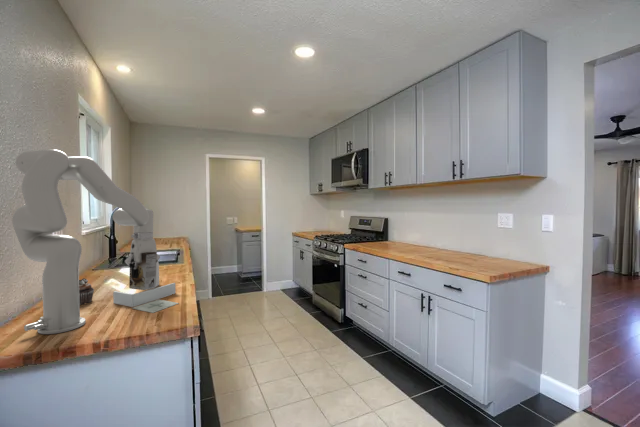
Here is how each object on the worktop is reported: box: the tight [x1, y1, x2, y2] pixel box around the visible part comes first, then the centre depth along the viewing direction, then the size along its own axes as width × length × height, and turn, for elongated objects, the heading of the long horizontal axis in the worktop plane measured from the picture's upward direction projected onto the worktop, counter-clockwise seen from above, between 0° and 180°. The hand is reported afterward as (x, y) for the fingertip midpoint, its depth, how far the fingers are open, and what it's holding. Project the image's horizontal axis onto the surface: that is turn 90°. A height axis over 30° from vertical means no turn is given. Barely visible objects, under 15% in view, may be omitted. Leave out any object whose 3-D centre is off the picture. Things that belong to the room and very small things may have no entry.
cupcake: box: [79, 277, 95, 306], centre depth 131 cm, size 10×10×10 cm
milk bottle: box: [156, 260, 160, 287], centre depth 156 cm, size 8×8×20 cm
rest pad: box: [131, 298, 180, 314], centre depth 126 cm, size 12×12×1 cm
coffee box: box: [128, 251, 158, 291], centre depth 136 cm, size 9×6×16 cm
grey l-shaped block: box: [112, 282, 176, 308], centre depth 137 cm, size 21×12×5 cm, turn 156°
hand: (142, 276), depth 136 cm, fingers closed on coffee box, 6 cm apart
